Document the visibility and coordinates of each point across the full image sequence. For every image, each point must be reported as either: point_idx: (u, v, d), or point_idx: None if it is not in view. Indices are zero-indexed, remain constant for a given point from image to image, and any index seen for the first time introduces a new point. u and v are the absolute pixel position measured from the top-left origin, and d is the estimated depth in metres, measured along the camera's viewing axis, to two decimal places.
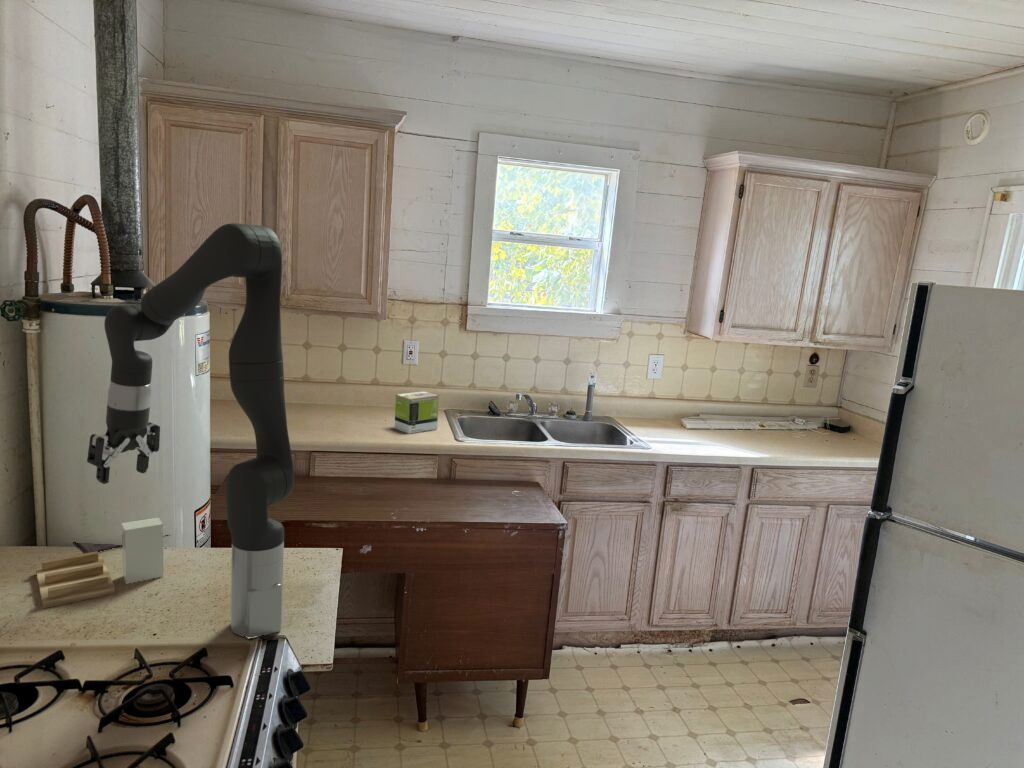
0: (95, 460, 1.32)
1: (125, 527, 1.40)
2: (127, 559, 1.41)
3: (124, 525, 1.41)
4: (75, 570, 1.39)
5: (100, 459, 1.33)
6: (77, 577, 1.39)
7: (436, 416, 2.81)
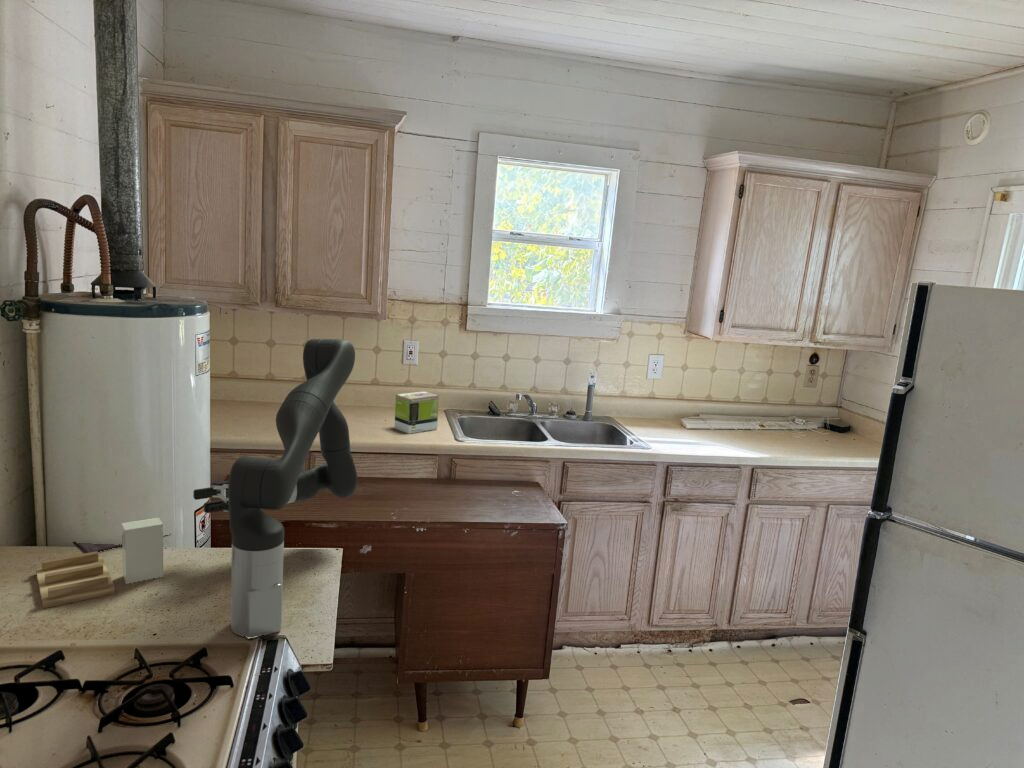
0: None
1: (125, 527, 1.40)
2: (127, 559, 1.41)
3: (124, 525, 1.41)
4: (75, 570, 1.39)
5: (218, 483, 1.57)
6: (77, 577, 1.39)
7: (436, 416, 2.81)
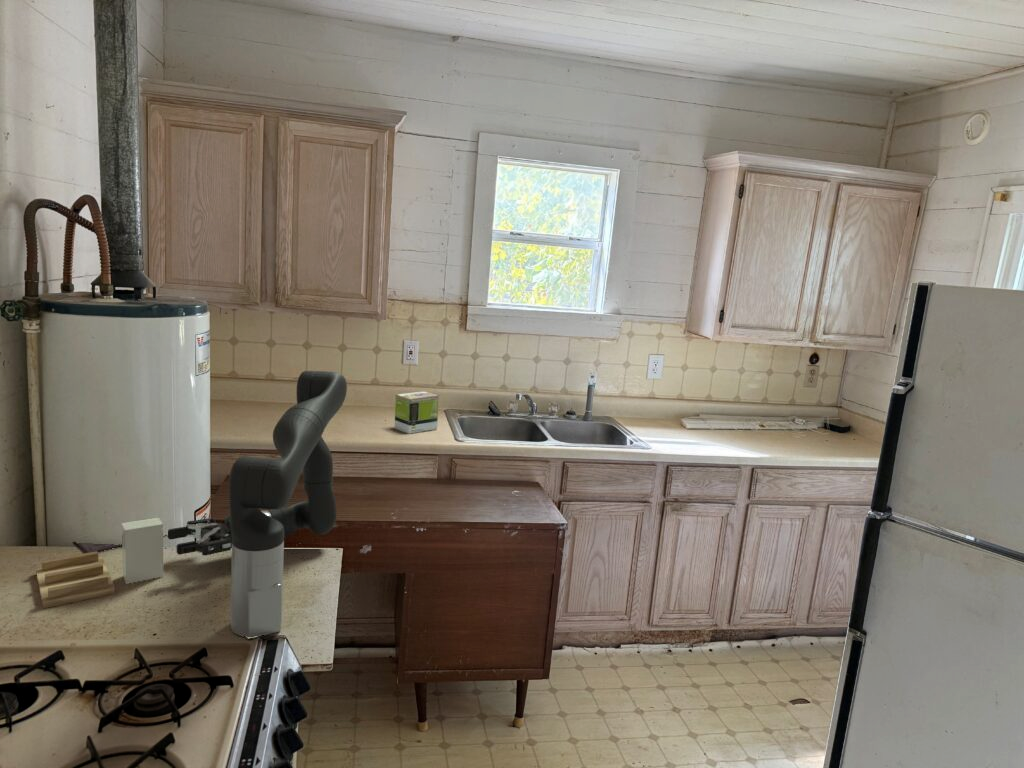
0: None
1: (125, 527, 1.40)
2: (127, 559, 1.41)
3: (124, 525, 1.41)
4: (75, 570, 1.39)
5: (194, 522, 1.56)
6: (77, 577, 1.39)
7: (436, 416, 2.81)
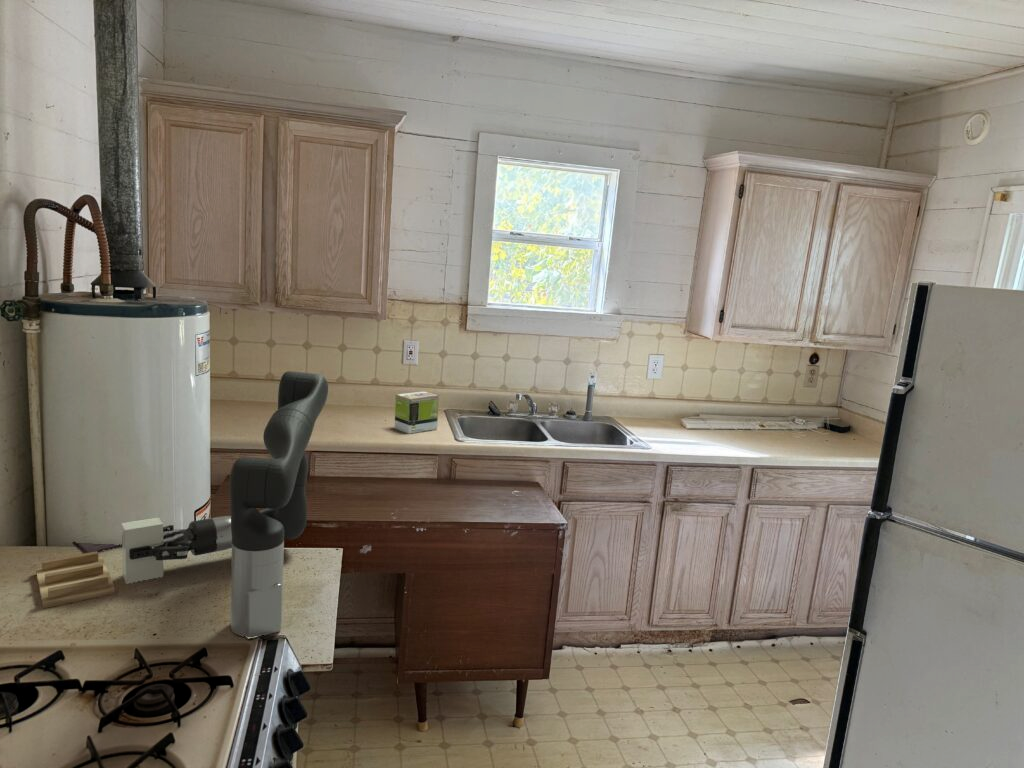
0: None
1: (125, 527, 1.40)
2: (127, 559, 1.41)
3: (124, 525, 1.41)
4: (75, 570, 1.39)
5: None
6: (77, 577, 1.39)
7: (436, 416, 2.81)
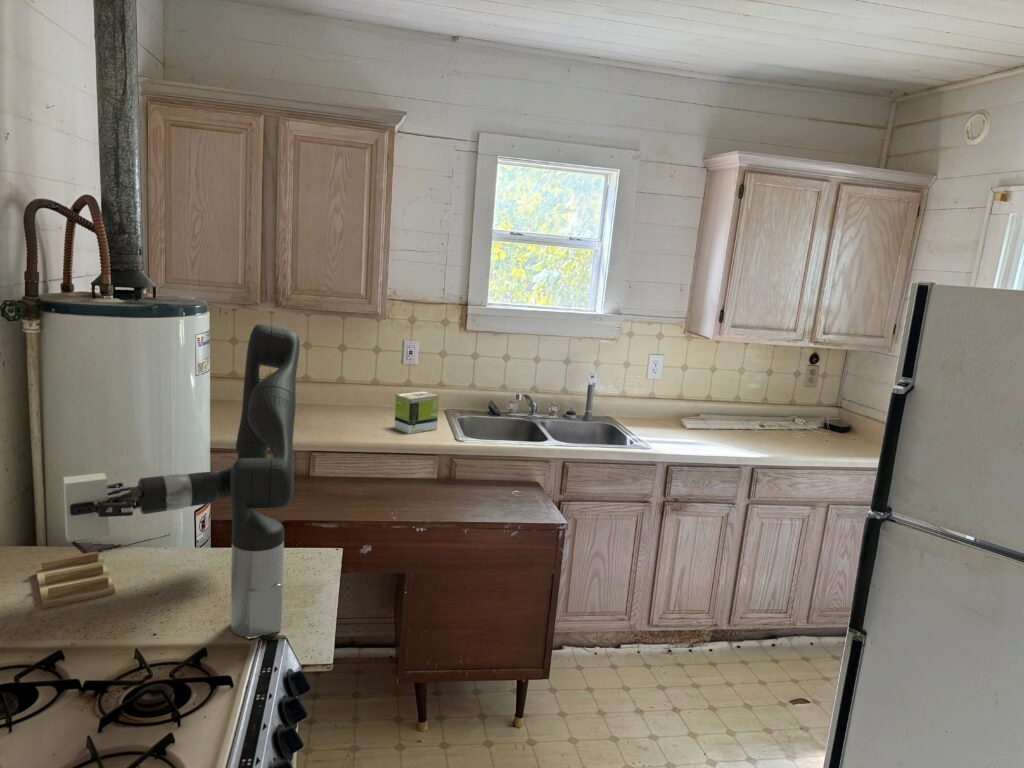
0: None
1: (66, 481, 1.32)
2: (68, 515, 1.32)
3: (65, 479, 1.33)
4: (75, 570, 1.39)
5: None
6: (77, 577, 1.39)
7: (436, 416, 2.81)
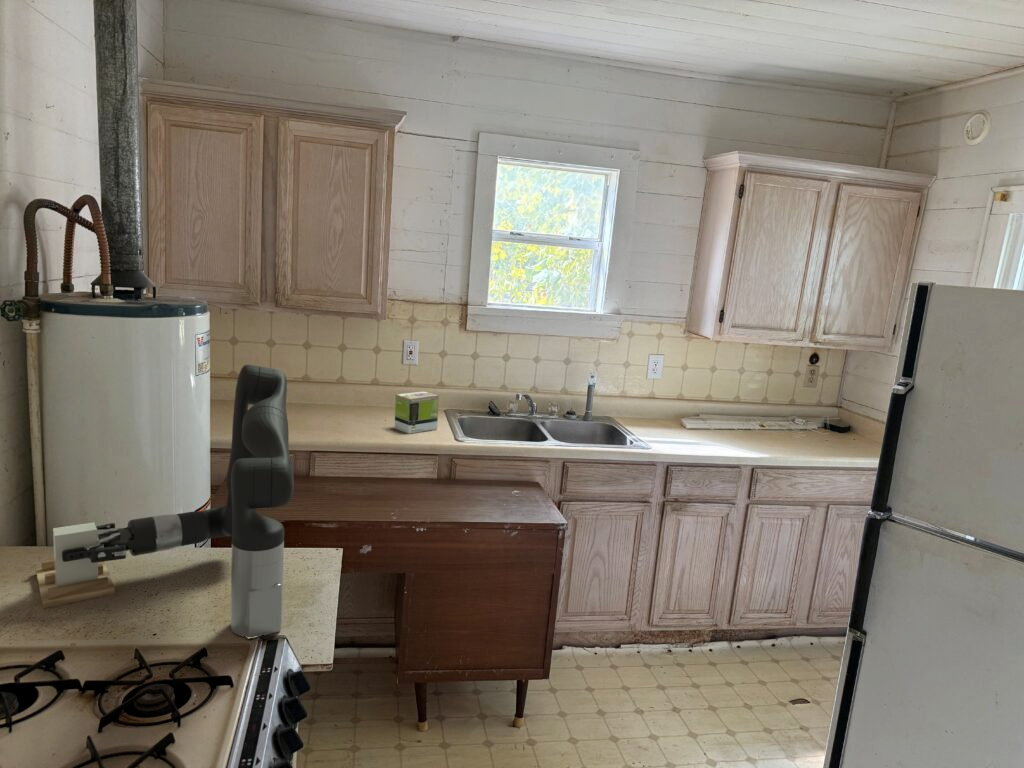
0: None
1: (55, 533, 1.32)
2: (57, 566, 1.33)
3: (55, 530, 1.33)
4: None
5: None
6: None
7: (436, 416, 2.81)
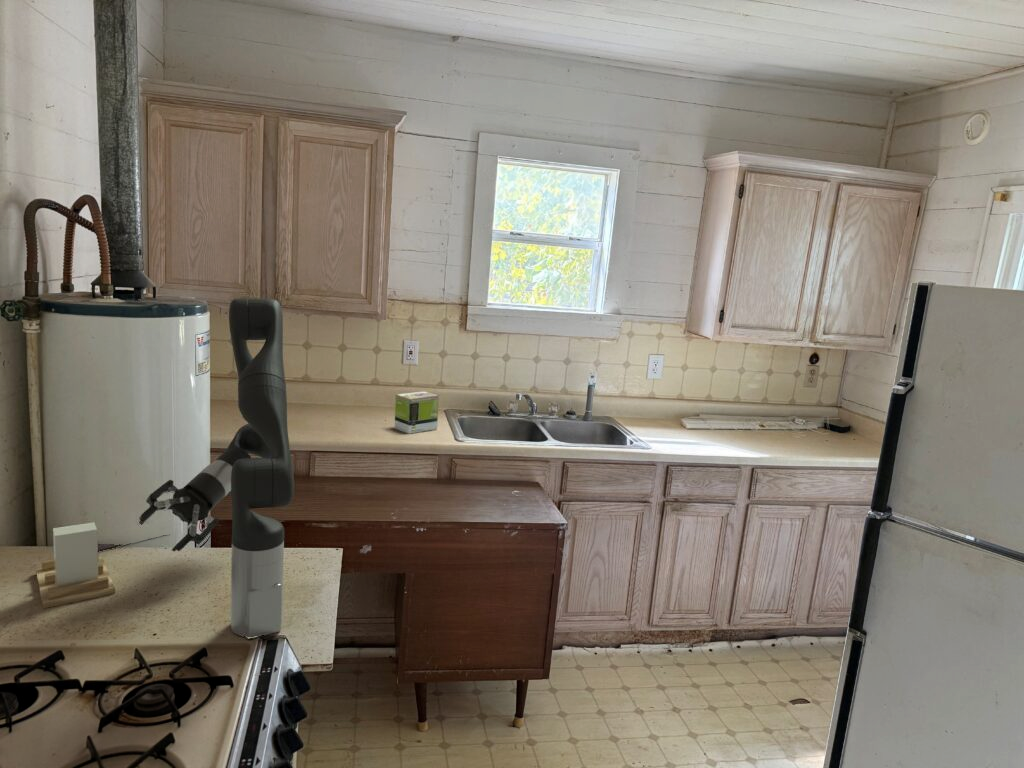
0: (153, 492, 1.42)
1: (55, 532, 1.33)
2: (57, 566, 1.33)
3: (55, 530, 1.33)
4: None
5: (157, 494, 1.42)
6: None
7: (436, 416, 2.81)
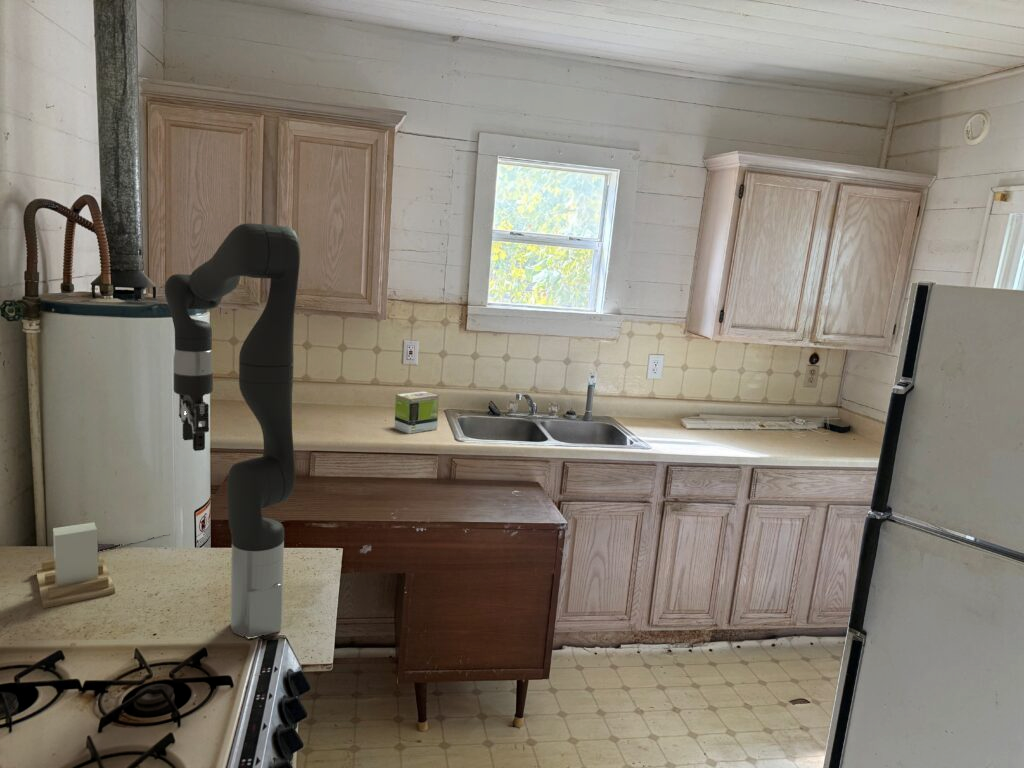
0: (207, 426, 1.40)
1: (55, 532, 1.33)
2: (57, 566, 1.33)
3: (55, 530, 1.33)
4: None
5: None
6: None
7: (436, 416, 2.81)
